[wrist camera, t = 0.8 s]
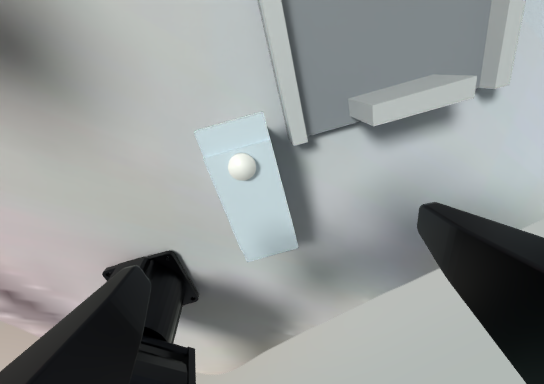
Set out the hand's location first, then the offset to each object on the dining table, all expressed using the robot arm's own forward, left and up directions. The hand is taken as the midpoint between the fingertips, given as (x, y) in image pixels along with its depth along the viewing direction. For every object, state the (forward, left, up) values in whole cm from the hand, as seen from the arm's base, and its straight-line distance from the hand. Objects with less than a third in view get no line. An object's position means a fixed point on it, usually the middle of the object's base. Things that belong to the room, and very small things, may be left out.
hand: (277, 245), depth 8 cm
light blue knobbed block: (-2, +1, -12) cm, 12 cm away
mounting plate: (+6, -10, -12) cm, 16 cm away
